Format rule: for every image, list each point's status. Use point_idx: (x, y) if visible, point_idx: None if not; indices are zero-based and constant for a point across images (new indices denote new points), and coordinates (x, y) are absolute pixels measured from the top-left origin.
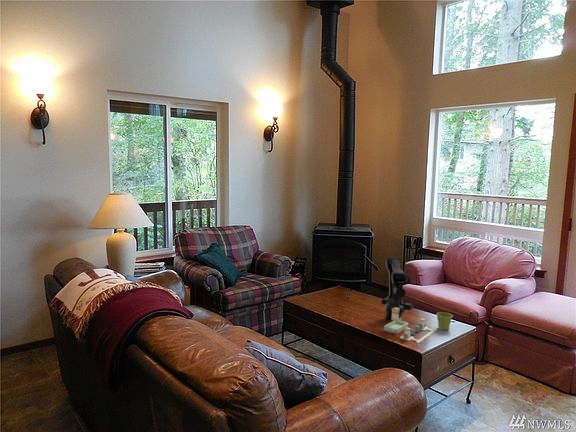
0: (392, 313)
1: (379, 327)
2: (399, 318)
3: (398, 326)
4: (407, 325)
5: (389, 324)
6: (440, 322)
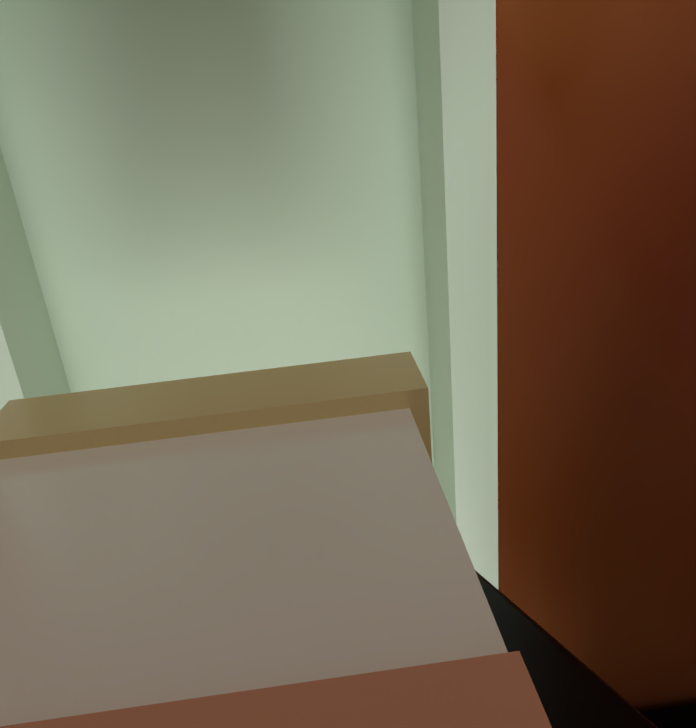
0: (438, 636)
1: (676, 43)
2: None
3: None
4: None
5: (443, 286)
6: None
